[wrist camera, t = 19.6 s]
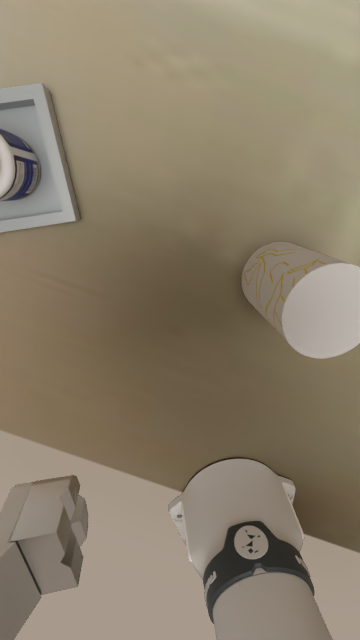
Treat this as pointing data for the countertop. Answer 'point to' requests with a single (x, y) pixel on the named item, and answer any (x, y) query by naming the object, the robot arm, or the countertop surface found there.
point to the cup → (305, 297)
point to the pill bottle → (17, 168)
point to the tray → (44, 138)
